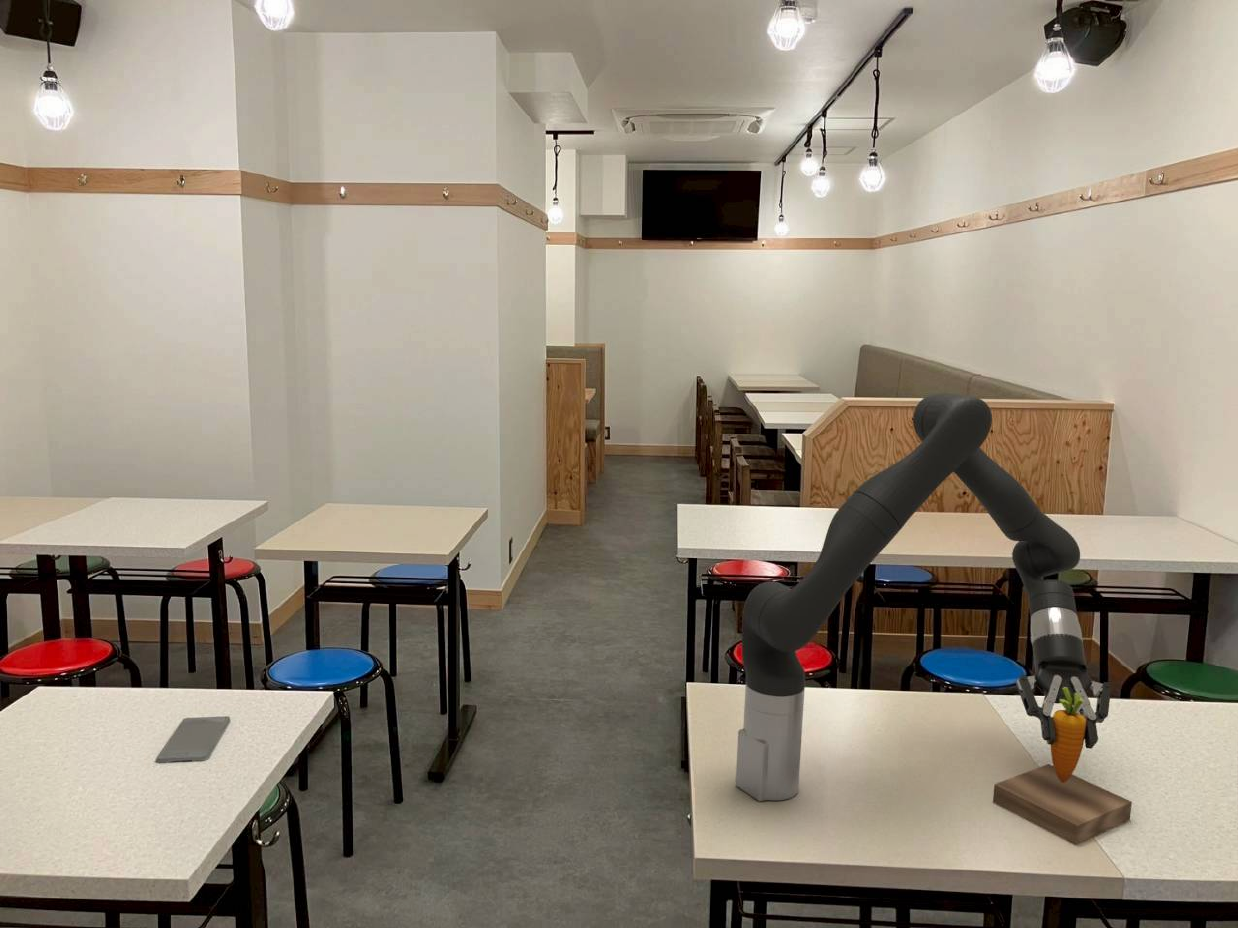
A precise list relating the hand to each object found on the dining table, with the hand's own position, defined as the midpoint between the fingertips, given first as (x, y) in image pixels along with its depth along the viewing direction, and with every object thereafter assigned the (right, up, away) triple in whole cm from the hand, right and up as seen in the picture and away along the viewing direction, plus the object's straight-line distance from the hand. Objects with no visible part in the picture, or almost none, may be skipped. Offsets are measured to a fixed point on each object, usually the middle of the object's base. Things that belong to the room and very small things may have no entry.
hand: (1071, 744), depth 143 cm
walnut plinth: (0, -11, +3) cm, 12 cm away
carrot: (0, -7, +3) cm, 8 cm away
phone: (-142, -6, +19) cm, 143 cm away
